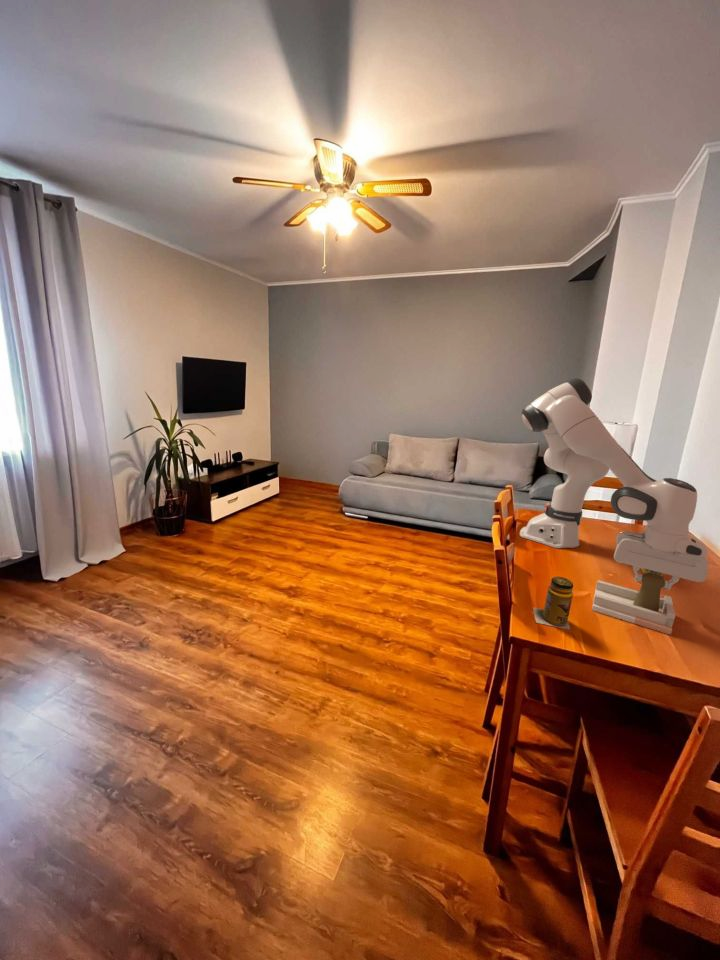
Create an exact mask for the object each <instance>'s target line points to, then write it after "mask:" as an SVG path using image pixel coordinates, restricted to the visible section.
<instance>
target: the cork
mask: <svg viewBox="0 0 720 960" xmlns="http://www.w3.org/2000/svg"><path fill="white" fill-rule="evenodd" d="M641 575H642V580H641V583H642V584H641V586H640V588H639V590H638V591H639V592H638V594H637V597H636V599H635V601H634V603H633V605H635V606H639V607H642V608H645V609H649V610H652V611H656V612H659V601H660V597H661V589H662V588H663V587H664V585H665V581H666V580H665V578H664V576H660V575H658V574H655V573H651V572H647V573H643V574H641ZM663 589H664V588H663Z"/></svg>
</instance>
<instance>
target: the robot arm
mask: <svg viewBox="0 0 720 960" xmlns="http://www.w3.org/2000/svg"><path fill="white" fill-rule="evenodd" d="M592 397H593V395H592V392H591V388H590V387H589V385H588V384H587V383H586V382H585V381H583V379H581V378H577V377H575V378H571V379H567V380H566V381H564V383H561V384H559V385H557V386H555V387H553V388H551V389H549V390H547V391H546V392H545V393H543V394H542V395H540V396H538V397H537V398H536V399H534V400H533V401H532V402H530V403H527V404H526V405H525V406H524V407H523V408H522V410H521V418H522V421H523V424H524V426H525V427H527V428H528V429H529V430H530V431H532V432H534V433H540V432H542V434H543V436H544V437H545V439H546V443H547V445H548V448H547V449H546V451H545V452H544V455H543V462H544V464H545V465H546V467H548V468H550V469H551V470H553V471H555V472H558V473H562V474H565V475H567V478H566V480H565V482H563V483H560V484H558V485H556V486H555V487H554V488H553V493H552V499H551V503H546V504H545V505H544V511H543V513H541V514H538V515H536V516H533V517H532V518H531V519H530V520H528V522H527V524H526V526H523V527H522V528H521V529H520V531H519V536H520V537H521V538H524V539H527V540H530V541H534V542H537V543H539V544H542V545H545V546H548V547H549V546H550V547H551V548H555V549H563V548H565V549H566V548H568V549H570V548H571V549H573V548H578V547H579V546H580V538H579V533H580V532H579V530H580V524H581V523H582V518H583V510H582V509H583V504H584V501H585V497H586V494H587V492H588V490H589V489H590V487H591V486H592V485H594V484H595V483H596V482H598V481H600V480H602V479H604V478H605V477H606V476H607V475H608V474H609V470H610V471H611V473H612V474H613V475H614V476H615V477H616V478H617V479H618V480H619V482H620V483H621V484H622V485H623V486H621V487H619V488H618V489H616V490H615V491H614V492H613V493H612V494H611V497H610V506H611V508H612V510H613V512H615V514H616V515H618V516H619V517H620V518H623V519H627V520H632V521H645V522H646V527H645V530H646V531H645V530H644V531H645V534H640V533H638V532H632V531H628V530H624V531H621V532H618V533H617V535H616V537H615V538H616V539H615V542H616V543H617V544H616V548H615V549H614V554H613V559H614V560H615V562H616V563H621V564H624V565H628V566H632V571H633V573H634V581H635V582H638V583H642V575H643V574H640V573H639V571H640V569H641V568H644V569H648V570H652V571H656V572H660V573H664V575H669V576H671V579H670V580H668V581H667V580H665V585H664V587H663V589H664V590H667V591H670V590H671V588H672V586H673V585H674V584H675V585H676V583H678V582H679V580H680V579H684V580H688V581H693V582H697V583H703V582H705V581H706V580H707V578H708V571H709V561H708V558H707V555H708V553H709V552H708V548H707V546H706V544H704V543H703V542H702V541H700V540H698V539H696V538H693V537H691V536H689V533H690V530H689V525H690V523H692V521H693V519H694V517H695V516H694V515H695V512H696V507H697V502H698V501H697V500H698V491H697V489H696V488H695V487H694V485H692V484H691V483H688V482H686V481H684V480H682V479H681V480H680V479H676V478H671V477H664V478H661V479H660V480H656V479H654V478H653V477H651V476H649V475H648V474H647V473H646V472H644V471H643V470H642V469H641V467H640V466H639V465H638V464H637V462H636V461H634V460H633V458H632V457H631V456H630V455H629V454H628V453H627V452H626V450H625V449H624V448H623V447H622V446H621V445H620V444H619V442H617V440H616V439H615V438H614V437H613V436H612V434H611V433H610V431H608V429H607V428H606V426H605V425H604V424H603V422H602V421H601V420H600V419H599V417H598V416H597V415H596V414H595V412H594V411H593V410H592V409H591V408H590V407H589V406H588V405H589V404H590V403H591V402H592Z"/></svg>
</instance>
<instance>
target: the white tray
mask: <svg viewBox="0 0 720 960" xmlns="http://www.w3.org/2000/svg"><path fill="white" fill-rule="evenodd" d="M638 592H639V590H635V589H632V588H628V587H625V586H621V585H616V584H614V583H611V582H606V581H603V580H599V579H597V581H596V585H595V591H594V596H593V601H592V602H593V603H592V608H591V611H593V612H596V613H599V614H602V615H606V616H609V617H612V618H616V619H618V620H621V619H622V620H621V621H625V622H629V623H631V624H634V625H638V626H641V627H644V628H648V629H651V630H653V631H656V630H657V632H659V631H660V633H662V634H667V635H669V634H670V635H669V636H671V635H672V634H673V633H672V632H673V625H674V622H675V618H676V614H675V613H676V612H675V609H674V604H673V600H672V596H670V595H664V596H663V597H661V596H660V601H659V612H656V611H652V610H649V609H645V608H642V607H639V606H635V605H633V603H634V601H635V599H636V597H637V594H638Z"/></svg>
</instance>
